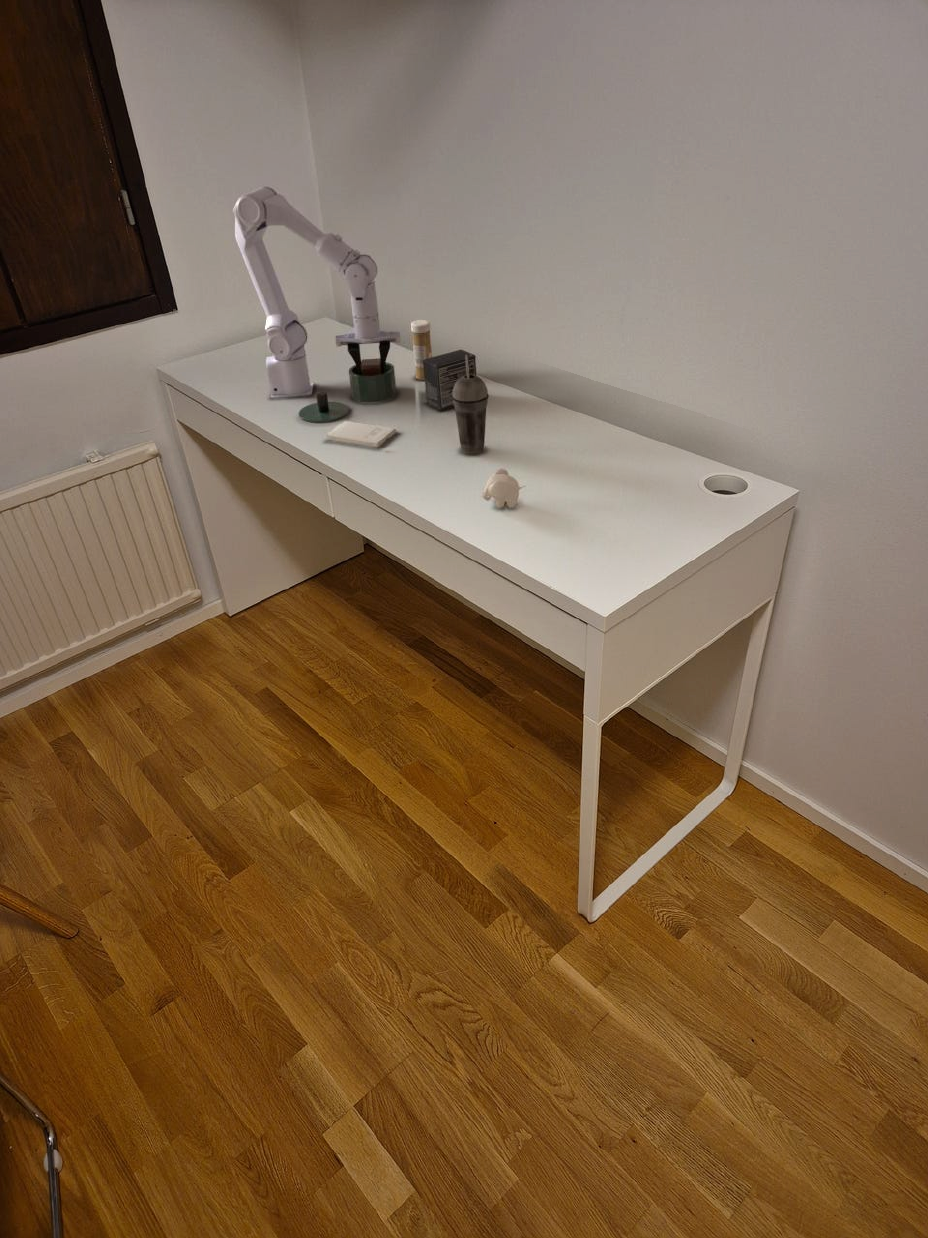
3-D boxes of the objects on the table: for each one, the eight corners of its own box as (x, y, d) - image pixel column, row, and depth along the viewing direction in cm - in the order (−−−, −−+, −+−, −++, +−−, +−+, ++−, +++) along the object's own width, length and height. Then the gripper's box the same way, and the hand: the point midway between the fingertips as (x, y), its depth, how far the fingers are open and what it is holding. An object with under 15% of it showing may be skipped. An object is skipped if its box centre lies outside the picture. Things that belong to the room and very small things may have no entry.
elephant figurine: (482, 495, 159) (481, 466, 156) (526, 495, 158) (526, 466, 155) (479, 513, 154) (478, 483, 150) (524, 513, 153) (524, 483, 149)
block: (363, 384, 199) (360, 365, 196) (363, 377, 202) (361, 359, 200) (382, 383, 199) (380, 364, 196) (382, 376, 202) (380, 358, 200)
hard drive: (346, 427, 188) (396, 434, 184) (326, 441, 183) (377, 449, 178) (345, 419, 188) (395, 427, 183) (325, 434, 182) (377, 442, 177)
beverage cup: (495, 444, 177) (492, 347, 166) (484, 459, 172) (480, 360, 160) (461, 441, 179) (456, 345, 168) (449, 456, 174) (443, 358, 162)
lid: (297, 426, 190) (293, 404, 187) (302, 407, 199) (298, 386, 196) (347, 423, 190) (345, 401, 187) (350, 404, 199) (347, 382, 196)
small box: (463, 392, 202) (461, 347, 196) (479, 400, 197) (477, 354, 191) (425, 403, 197) (421, 358, 191) (440, 411, 193) (437, 365, 187)
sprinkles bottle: (437, 377, 211) (434, 321, 203) (423, 382, 209) (419, 326, 201) (425, 373, 214) (421, 317, 206) (411, 378, 211) (406, 322, 204)
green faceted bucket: (351, 405, 198) (347, 378, 195) (353, 389, 207) (350, 362, 203) (396, 402, 199) (393, 375, 195) (396, 386, 207) (394, 359, 203)
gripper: (331, 322, 189) (339, 382, 196) (397, 318, 189) (403, 378, 197) (333, 313, 194) (341, 372, 202) (398, 308, 195) (403, 368, 202)
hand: (372, 374), depth 200 cm, fingers closed on block, 4 cm apart
